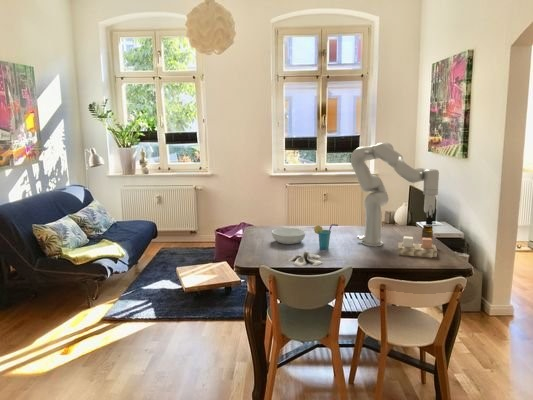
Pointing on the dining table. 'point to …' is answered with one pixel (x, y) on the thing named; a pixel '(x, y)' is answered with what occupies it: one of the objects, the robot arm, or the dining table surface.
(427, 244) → the terracotta key
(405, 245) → the ivory key
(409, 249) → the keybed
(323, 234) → the cup
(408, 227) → the dining table surface
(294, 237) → the serving bowl
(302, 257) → the cloth
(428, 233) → the condiment
